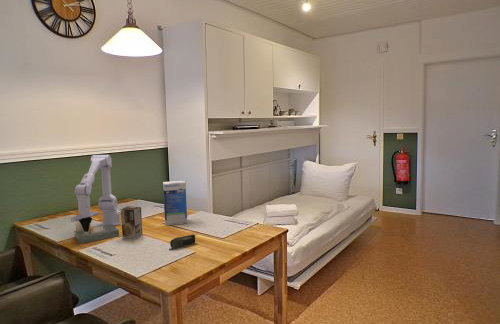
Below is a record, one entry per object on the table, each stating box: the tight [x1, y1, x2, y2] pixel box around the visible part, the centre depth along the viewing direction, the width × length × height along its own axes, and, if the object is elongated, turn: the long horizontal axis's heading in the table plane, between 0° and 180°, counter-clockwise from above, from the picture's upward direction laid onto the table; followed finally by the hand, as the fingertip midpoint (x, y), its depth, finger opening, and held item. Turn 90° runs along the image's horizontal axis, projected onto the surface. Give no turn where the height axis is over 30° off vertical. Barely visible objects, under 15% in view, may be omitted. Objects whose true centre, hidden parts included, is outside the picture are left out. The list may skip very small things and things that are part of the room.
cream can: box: [74, 220, 84, 232], centre depth 189 cm, size 4×4×7 cm
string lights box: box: [162, 180, 188, 226], centre depth 211 cm, size 13×8×26 cm, turn 108°
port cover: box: [89, 224, 106, 234], centre depth 188 cm, size 8×8×3 cm
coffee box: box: [120, 205, 143, 240], centre depth 188 cm, size 9×6×16 cm
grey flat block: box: [73, 224, 120, 245], centre depth 190 cm, size 20×14×4 cm
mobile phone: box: [168, 234, 196, 251], centre depth 173 cm, size 5×3×15 cm
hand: (86, 231), depth 184 cm, fingers closed
